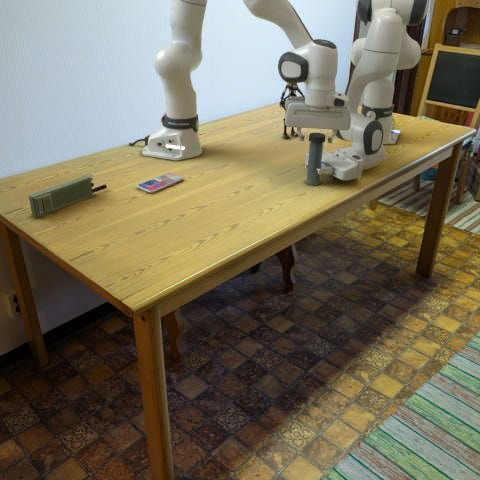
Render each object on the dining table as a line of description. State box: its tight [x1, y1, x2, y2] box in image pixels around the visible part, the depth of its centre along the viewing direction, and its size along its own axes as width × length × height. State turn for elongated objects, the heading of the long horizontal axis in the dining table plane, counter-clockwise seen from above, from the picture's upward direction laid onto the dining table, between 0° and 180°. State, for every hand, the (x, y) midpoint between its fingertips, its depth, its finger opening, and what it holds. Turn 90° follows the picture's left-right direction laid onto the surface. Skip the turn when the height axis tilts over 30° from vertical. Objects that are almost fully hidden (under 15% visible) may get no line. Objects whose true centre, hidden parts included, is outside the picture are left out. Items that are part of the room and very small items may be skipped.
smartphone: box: [136, 172, 184, 194], centre depth 164 cm, size 7×1×15 cm
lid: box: [308, 132, 326, 144], centre depth 160 cm, size 5×5×2 cm
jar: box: [305, 141, 324, 186], centre depth 163 cm, size 4×4×15 cm
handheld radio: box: [28, 173, 108, 219], centre depth 150 cm, size 7×3×25 cm
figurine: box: [279, 82, 305, 140], centre depth 202 cm, size 15×6×30 cm, turn 132°
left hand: (315, 141), depth 160 cm, fingers open, 7 cm apart
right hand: (312, 168), depth 164 cm, fingers closed on jar, 4 cm apart
